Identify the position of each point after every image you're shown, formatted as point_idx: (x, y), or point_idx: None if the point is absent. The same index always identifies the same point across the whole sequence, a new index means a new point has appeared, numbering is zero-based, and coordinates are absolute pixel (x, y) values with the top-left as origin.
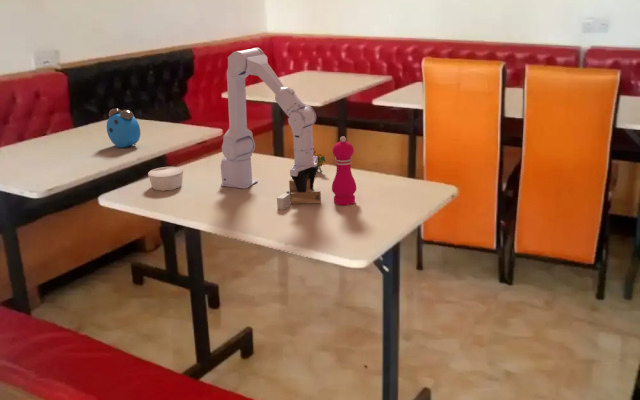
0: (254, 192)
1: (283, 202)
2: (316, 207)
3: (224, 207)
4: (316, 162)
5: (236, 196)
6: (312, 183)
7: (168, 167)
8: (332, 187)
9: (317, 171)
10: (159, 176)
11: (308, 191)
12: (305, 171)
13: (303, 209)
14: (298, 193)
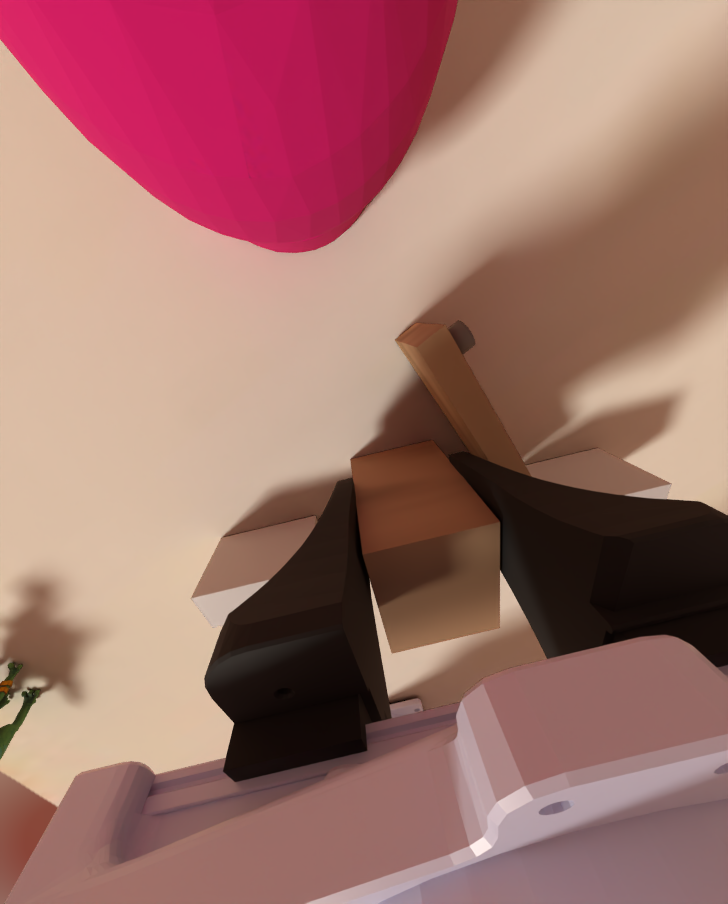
0: (432, 662)
1: (635, 470)
2: (501, 296)
3: None
4: (121, 781)
5: (496, 670)
6: (351, 502)
7: None
8: (409, 134)
9: (12, 673)
10: None
11: (387, 476)
12: (376, 660)
13: (562, 354)
14: (529, 473)
